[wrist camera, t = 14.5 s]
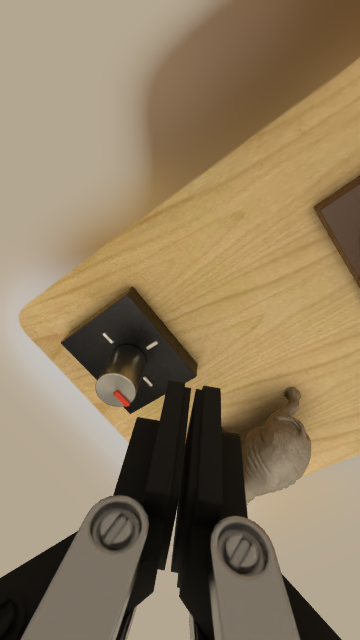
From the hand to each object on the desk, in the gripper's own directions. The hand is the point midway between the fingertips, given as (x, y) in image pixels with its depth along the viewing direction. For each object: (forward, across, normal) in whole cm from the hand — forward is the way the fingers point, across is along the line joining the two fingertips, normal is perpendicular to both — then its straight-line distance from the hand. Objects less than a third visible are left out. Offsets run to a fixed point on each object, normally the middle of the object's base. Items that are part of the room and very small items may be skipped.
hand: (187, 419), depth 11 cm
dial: (+23, +6, +13) cm, 27 cm away
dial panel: (+25, +6, +13) cm, 29 cm away
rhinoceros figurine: (+25, -9, +22) cm, 35 cm away
